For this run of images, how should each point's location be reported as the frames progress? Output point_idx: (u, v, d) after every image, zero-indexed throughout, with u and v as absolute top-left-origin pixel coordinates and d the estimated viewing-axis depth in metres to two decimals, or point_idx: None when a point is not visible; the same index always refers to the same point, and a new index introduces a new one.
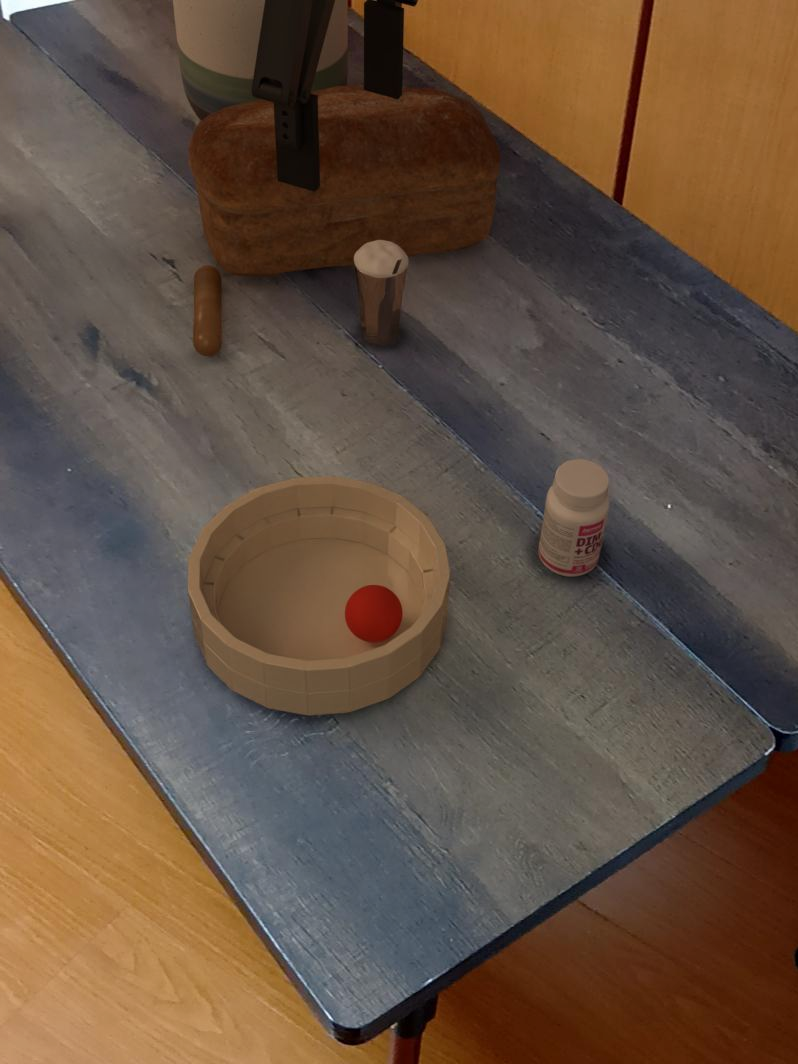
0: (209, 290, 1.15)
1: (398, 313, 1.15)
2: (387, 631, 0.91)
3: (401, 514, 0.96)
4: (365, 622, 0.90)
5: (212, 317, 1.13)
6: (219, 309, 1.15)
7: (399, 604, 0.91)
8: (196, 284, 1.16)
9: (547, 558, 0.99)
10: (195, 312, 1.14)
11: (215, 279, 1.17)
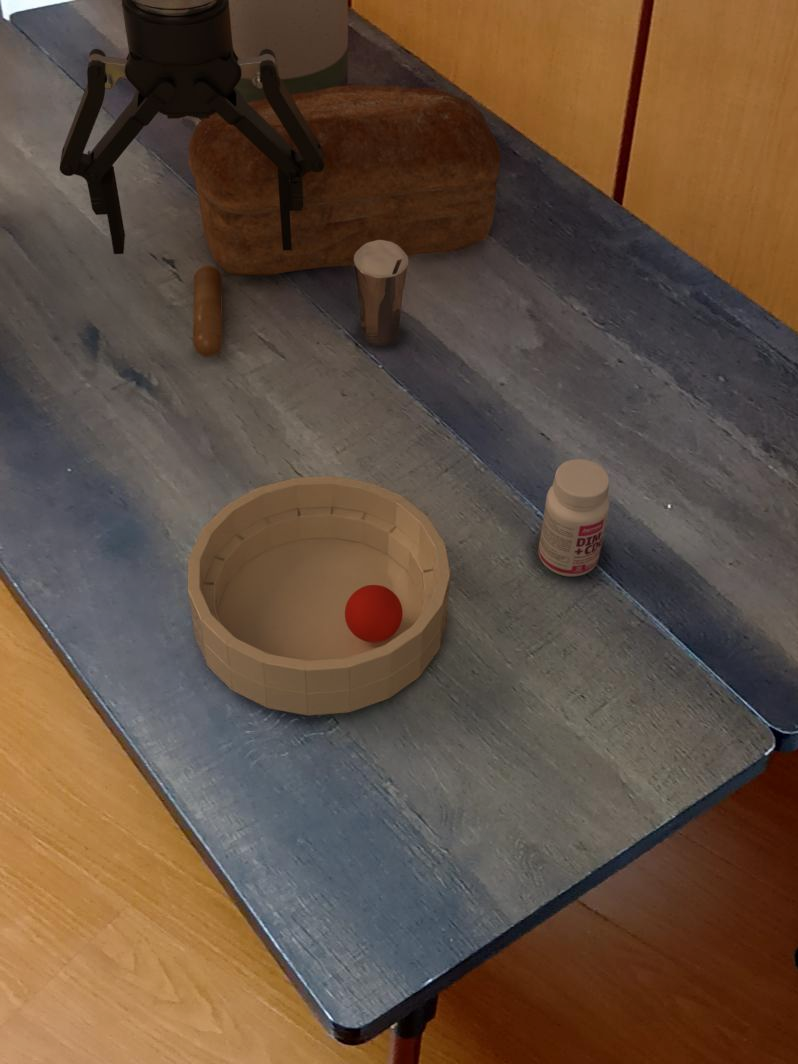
0: (209, 290, 1.15)
1: (398, 313, 1.15)
2: (387, 631, 0.91)
3: (401, 514, 0.96)
4: (365, 622, 0.90)
5: (212, 317, 1.13)
6: (219, 309, 1.15)
7: (399, 604, 0.91)
8: (196, 284, 1.16)
9: (547, 558, 0.99)
10: (195, 312, 1.14)
11: (215, 279, 1.17)
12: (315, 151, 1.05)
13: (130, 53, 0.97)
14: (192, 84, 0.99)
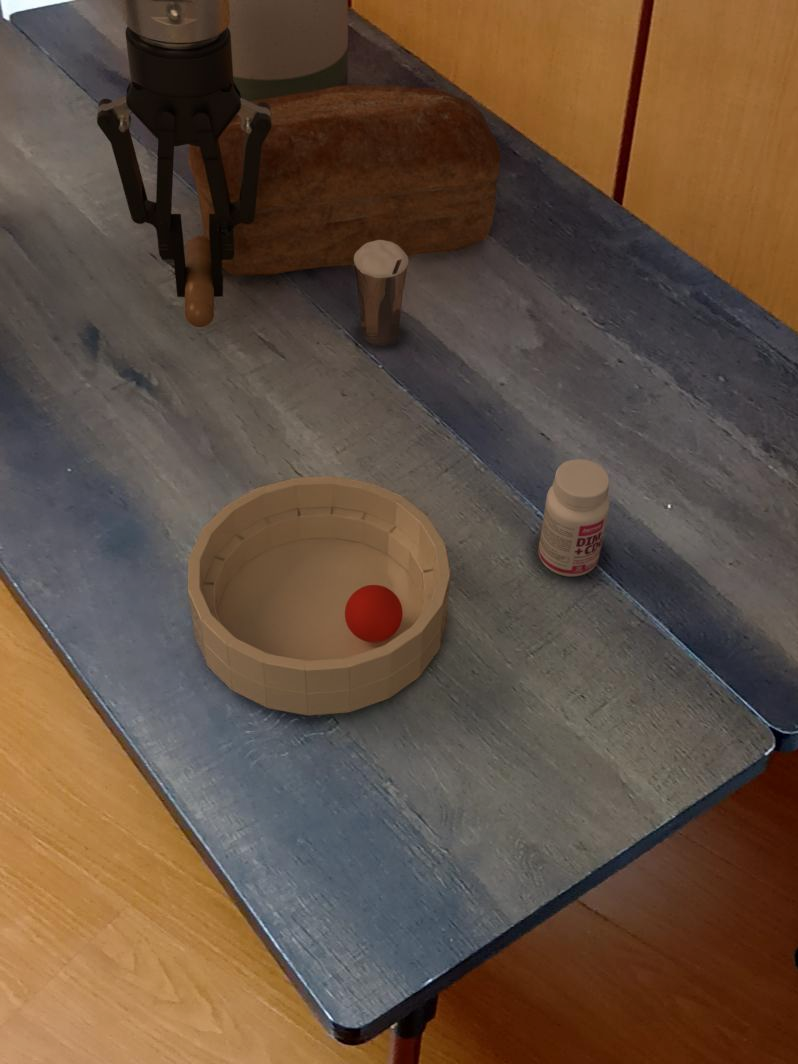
0: (201, 260, 1.13)
1: (398, 313, 1.15)
2: (387, 631, 0.91)
3: (401, 514, 0.96)
4: (365, 622, 0.90)
5: (204, 288, 1.11)
6: (211, 280, 1.12)
7: (399, 604, 0.91)
8: (188, 255, 1.14)
9: (547, 558, 0.99)
10: (186, 282, 1.12)
11: (207, 249, 1.15)
12: (254, 206, 1.08)
13: (132, 83, 0.98)
14: (193, 109, 1.00)
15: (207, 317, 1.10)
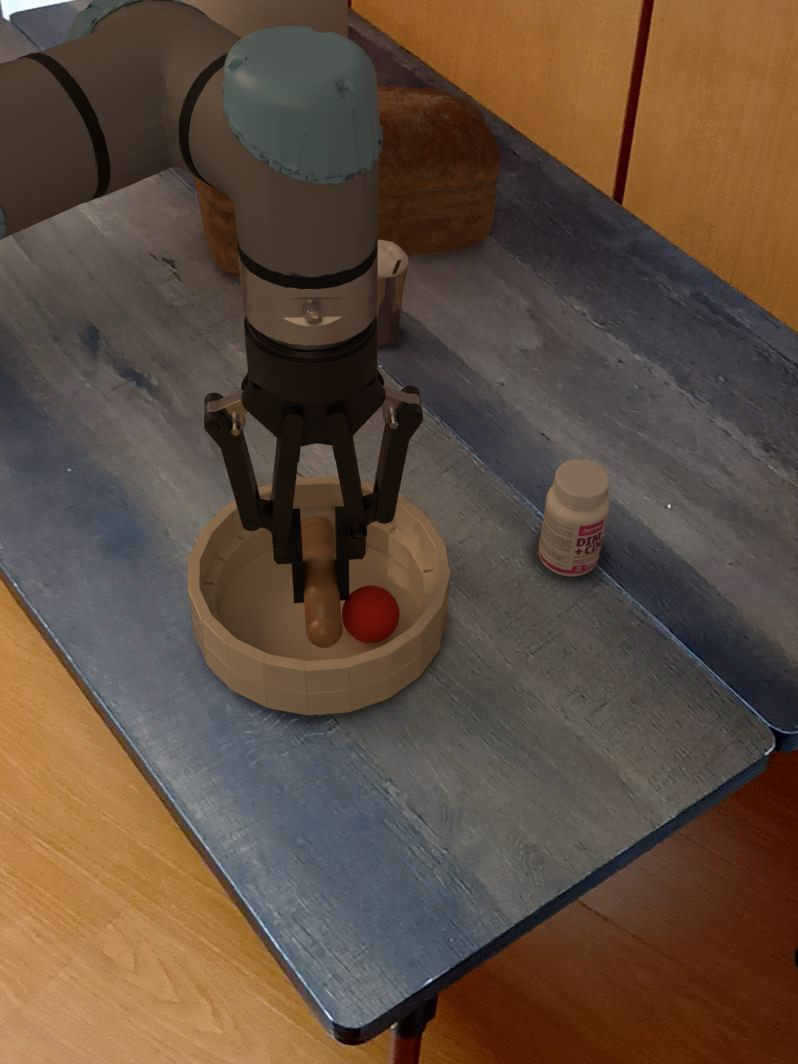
0: (322, 554, 0.91)
1: (398, 313, 1.15)
2: (384, 631, 0.91)
3: (401, 514, 0.96)
4: (361, 624, 0.90)
5: (329, 597, 0.89)
6: (336, 581, 0.90)
7: (394, 603, 0.91)
8: (305, 546, 0.92)
9: (547, 558, 0.99)
10: (306, 588, 0.89)
11: (328, 537, 0.93)
12: (395, 505, 0.85)
13: (250, 381, 0.76)
14: (327, 407, 0.78)
15: (335, 637, 0.87)
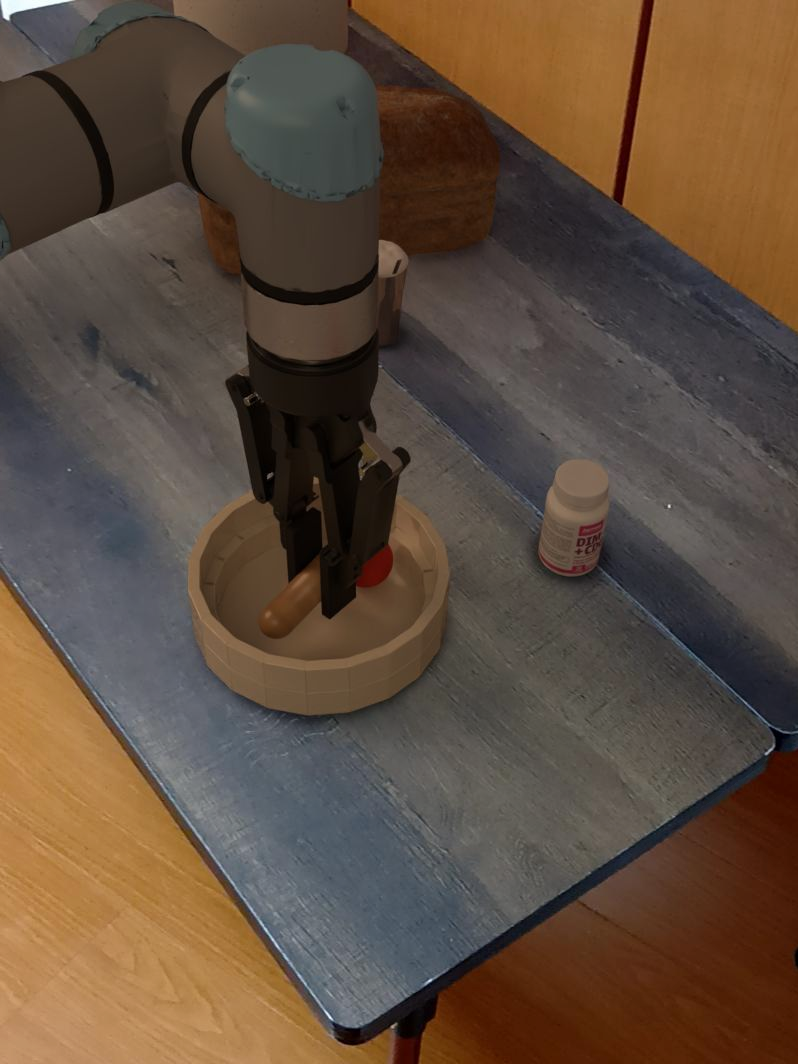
0: (318, 589, 0.89)
1: (398, 313, 1.15)
2: None
3: (401, 514, 0.96)
4: None
5: None
6: None
7: None
8: None
9: (547, 558, 0.99)
10: None
11: (293, 603, 0.88)
12: None
13: (369, 402, 0.78)
14: None
15: None
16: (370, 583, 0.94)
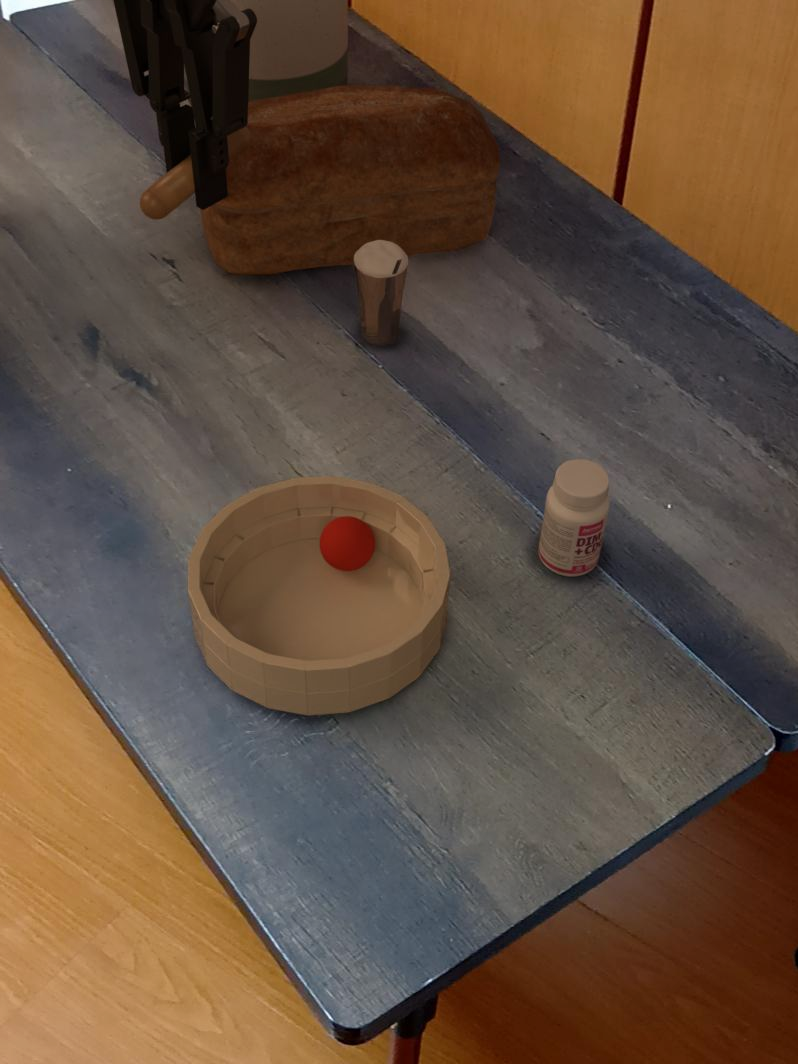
0: (192, 177, 1.02)
1: (398, 313, 1.15)
2: None
3: (401, 514, 0.96)
4: None
5: None
6: None
7: None
8: (185, 199, 1.03)
9: (547, 558, 0.99)
10: None
11: (169, 185, 1.01)
12: None
13: None
14: None
15: None
16: (347, 547, 0.94)
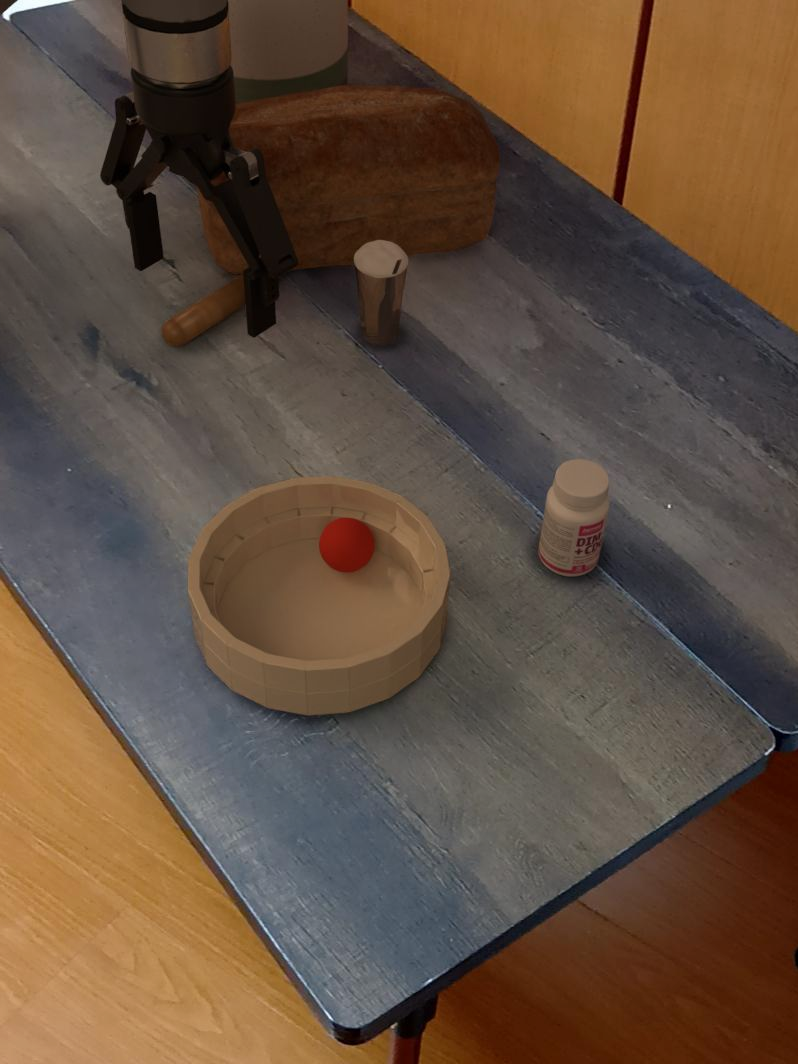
0: (211, 313, 1.14)
1: (398, 313, 1.15)
2: None
3: (401, 514, 0.96)
4: None
5: (241, 291, 1.16)
6: (221, 294, 1.15)
7: (369, 530, 0.96)
8: (202, 331, 1.14)
9: (547, 558, 0.99)
10: (232, 312, 1.17)
11: (191, 318, 1.13)
12: None
13: (228, 129, 1.01)
14: None
15: None
16: (346, 550, 0.94)
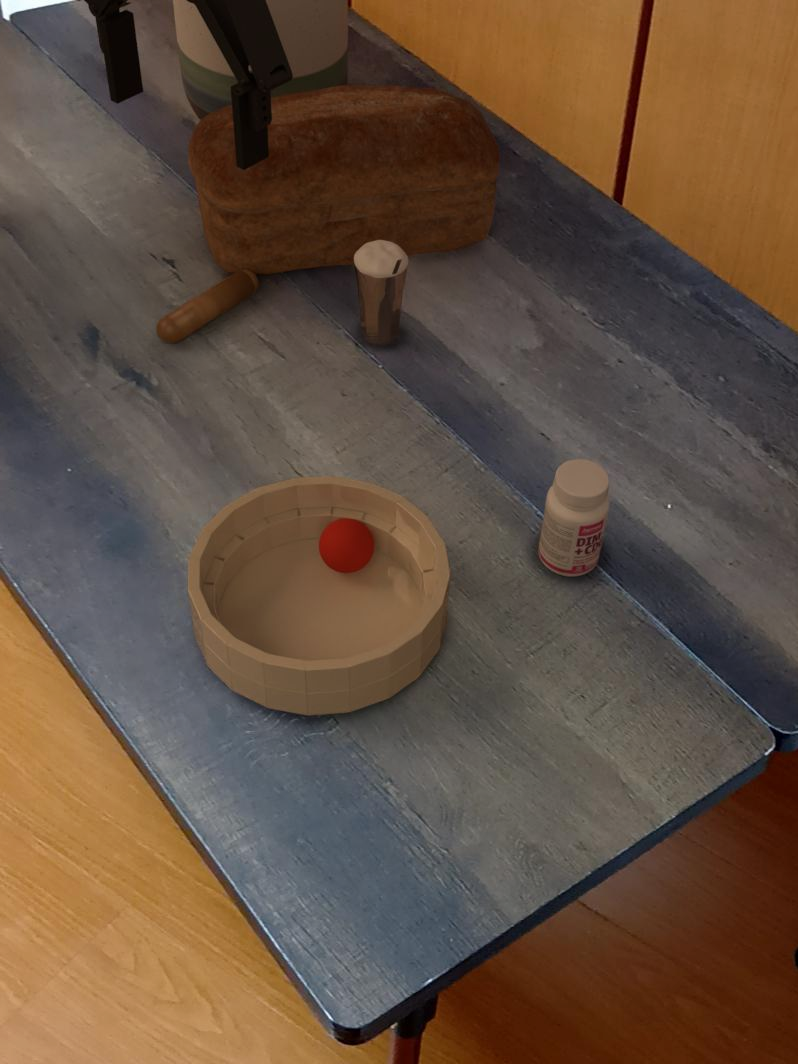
0: (202, 305, 1.14)
1: (398, 313, 1.15)
2: None
3: (401, 514, 0.96)
4: None
5: (232, 283, 1.16)
6: (211, 289, 1.16)
7: (369, 530, 0.96)
8: (197, 324, 1.14)
9: (547, 558, 0.99)
10: (229, 306, 1.16)
11: (181, 311, 1.13)
12: None
13: None
14: None
15: None
16: (346, 552, 0.94)
